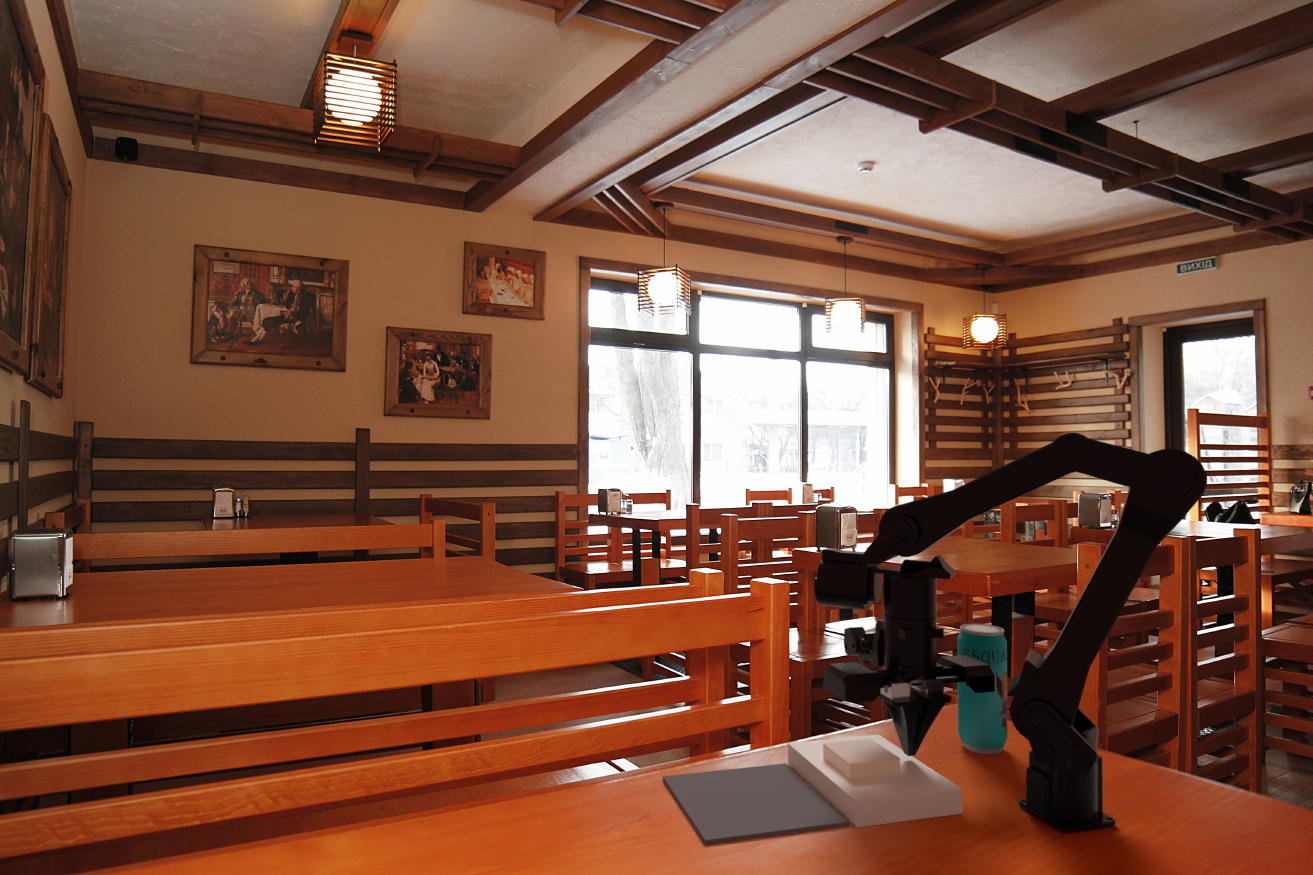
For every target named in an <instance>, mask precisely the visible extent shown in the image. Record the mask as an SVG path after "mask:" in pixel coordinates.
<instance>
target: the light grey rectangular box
mask: <svg viewBox="0 0 1313 875" xmlns="http://www.w3.org/2000/svg"><path fill="white" fill-rule="evenodd" d="M863 739H872V740H873V741H875V742H876V743H878V744H879V745H881V746H882V747H884V748H885V749H887V750H888V751H890V752H891V753H893V754H894V755H896V756H897V757H899V758H900V774H891V775H883V776H874V777H865V778H856V779H849V778H848V777H846V776H845V775H844V774H843V773H841V772H840V771H839V770H838V769H836V768H835V767H834V766H833V765H832V764H830V763H829V762H828V761H827V760H825V759H824V758H823V743H833V742H843V741H853V740H863ZM787 745H788V746H787V747H788V748H787V765H788V766H789V767H791V768H792V769H793V770H794V771H795V772H796V773H797V774H798V775H799V776H800V777H801V778H803V779H804V780H805V781H806V782H807V783H808V784H809V785H810V786H811V787H812V788H813V789H815V790H816V791H817V792H818V793H819V794H820V795H821V796H822V797H823V798H824V799H825V800H827V801H828V802H829V803H830V804H831V805H832V806H833V807H834V808H835V809H836V810H837V811H839V812H840V813H841V814H842V815H843V816H844V817H845V818H846V819H847V820H848V821H849V822H850V823H851V824H852V825H854V827H856V828H861V827H869V826H870V827H871V826H877V825H885V824H893V823H894V824H895V823H900V822H901V823H902V822H908V821H916V820H925V819H930V818H931V819H932V818H940V817H946V816H947V817H948V816H953V815H961V814H963V788H961V787H960V786H958V785H957V784H955V783H954V782H952V781H950V779H947V778H946V777H944V776H943V775H941V774H940V773H938V772H937V771H935V770H933V769H932V768H930V767H929V766H927V765H926V764H924V763H923V762H921V761H920V760H919V759H916V758H915V756H907V755H906V754H905V753H904V752H903V749H902V748H901V747H898V746H897V745H895V744H894V743H892V742H891V741H890V740H888V739H886V738H884V737H883V736H881V735H880V734H871V735H863V736H862V735H861V736H851V737H841V738H830V739H820V740H811V741H810V740H809V741H801V742H798V741H797V742H791V743H790V742H788V743H787Z"/></svg>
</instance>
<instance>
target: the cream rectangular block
mask: <svg viewBox="0 0 1313 875" xmlns="http://www.w3.org/2000/svg"><path fill="white" fill-rule="evenodd" d="M823 758H824V759H825V760H827V761H828V762H829V763H830V764H832V765H833V766H834V767H835V768H836V769H838V770H839V771H840V772H841V773H843V774H844V775H845V776H846V777H848V778H849V779H856V778H865V777H874V776H883V775H891V774H900V758H899V757H897V756H896V755H894V754H893V753H891V752H890V751H888V750H887V749H885V748H884V747H882V746H881V745H879V744H878V743H876V742H875V741H873V740H872V739H863V740H853V741H843V742H833V743H823Z"/></svg>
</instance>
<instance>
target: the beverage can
mask: <svg viewBox="0 0 1313 875" xmlns="http://www.w3.org/2000/svg"><path fill="white" fill-rule="evenodd" d="M959 629H960V631H959V634H958V636H957V656H959V655H966V656H969V657H971V658H974V659H976V660H979V661H981V662H984V663H986V664H989V665H990V666H991V668H992V669H993V671H994V673H995V675H996V691H995V692H984V693H974V692H972V691H971V690H970V689H969V688H968V687H967V686H966V682H958V683H957V732H958V735H959V738H960V742H961V744H962V746H963V747H964V748H965V749H966V750H967V751H970V752H972V753H976V754H980V755H990V756H991V755H997V754H1000V753H1002V752H1003V750H1004V748H1005V744H1006V743H1007V740H1008V695H1007V693H1008V641H1007V640H1006V637H1005V634H1004V633H1005V629H1004V628H1003V627H1001V626H996V625H991V624H986V623H964V624H962V625H960V626H959Z"/></svg>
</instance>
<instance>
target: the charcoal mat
mask: <svg viewBox="0 0 1313 875" xmlns="http://www.w3.org/2000/svg"><path fill="white" fill-rule="evenodd" d="M662 781H663V782H664V784H665V785H666V787H667V789H668V790H669V791H670V793H671V795H672V796H673V797H674V799H675V800H676V802H677V804H678V805H679V807H680V808H681V810H682V811H683V813H684V814H685V816H686V817H687V819H688V820H689V822H690V823H691V825H692V826H693V828H694V829H695V831H696V832H697V834H698V836H699V837H700V838H701V840H702V842H703V843H704V845H711V844H718V843H720V844H721V843H726V842H734V841H735V842H736V841H743V840H748V839H758V838H765V837H774V836H781V835H786V834H787V835H789V834H797V833H804V832H811V831H820V830H826V829H827V830H828V829H834V828H841V827H849V826H850V823H851V822H850V821H849V820H848V819H847V818H846V817H845V816H844V815H843V814H841V813H840V812H839V811H838V810H837V809H836V808H835V807H834V806H833V805H832V804H830V803H829V802H828V801H827V800H826V799H825V798H824V797H823V796H822V795H821V794H820V793H818V792H817V791H816V790H815V789H814V788H813V787H812V786H811V785H810V784H809V783H808V782H806V781H805V780H804V779H803V778H802V777H801V776H800V775H799V774H798V773H797V772H796V771H794V770H793V769H792V768H791V767H790V766H789V765H788V763H776V764H767V765H766V764H765V765H757V766H748V767H747V766H746V767H739V768H737V767H736V768H729V769H720V770H711V771H700V772H691V773H681V774H671V775H663V776H662Z"/></svg>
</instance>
